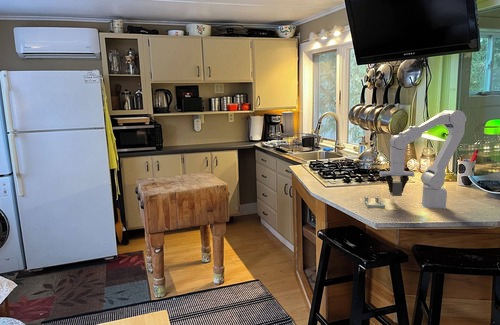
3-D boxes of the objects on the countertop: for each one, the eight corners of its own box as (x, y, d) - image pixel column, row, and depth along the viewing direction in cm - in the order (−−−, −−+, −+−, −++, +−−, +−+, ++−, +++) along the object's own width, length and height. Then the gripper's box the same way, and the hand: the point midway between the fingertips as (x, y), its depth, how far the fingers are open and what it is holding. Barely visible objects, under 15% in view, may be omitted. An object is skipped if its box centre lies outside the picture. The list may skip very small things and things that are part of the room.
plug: (394, 190, 176) (395, 178, 176) (401, 196, 165) (402, 182, 164) (386, 190, 177) (386, 178, 176) (392, 196, 165) (392, 182, 164)
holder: (381, 203, 171) (381, 201, 171) (385, 208, 165) (385, 205, 164) (364, 203, 172) (364, 201, 172) (367, 207, 166) (367, 205, 165)
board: (393, 199, 179) (394, 198, 179) (404, 210, 162) (404, 209, 162) (358, 199, 181) (359, 198, 181) (365, 209, 164) (365, 209, 164)
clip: (377, 200, 176) (377, 196, 176) (378, 202, 174) (378, 197, 174) (364, 200, 177) (364, 196, 177) (365, 201, 175) (365, 197, 175)
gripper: (382, 163, 161) (381, 194, 164) (417, 163, 159) (415, 194, 162) (379, 161, 168) (377, 190, 170) (412, 161, 166) (410, 190, 169)
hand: (395, 192), depth 167 cm, fingers closed on plug, 4 cm apart
